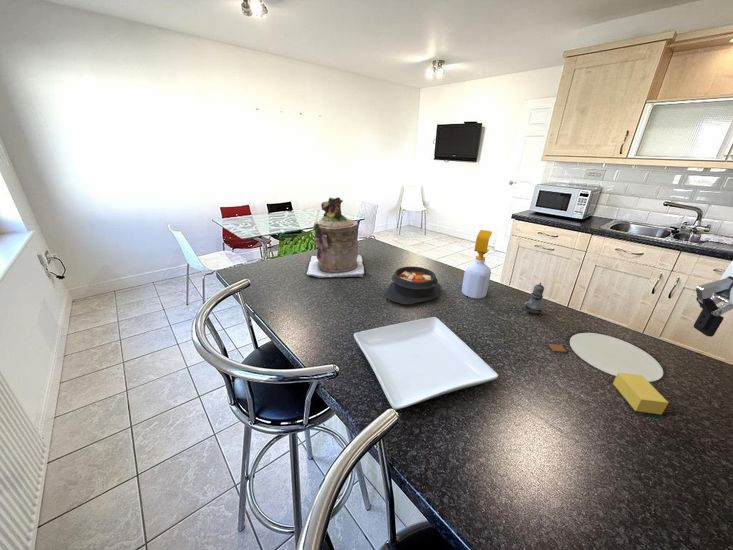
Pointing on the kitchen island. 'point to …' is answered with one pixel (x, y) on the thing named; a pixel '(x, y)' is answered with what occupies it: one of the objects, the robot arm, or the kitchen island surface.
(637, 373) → the plate
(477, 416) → the kitchen island surface
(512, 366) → the kitchen island surface
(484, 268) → the soap bottle
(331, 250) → the cookie jar
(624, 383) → the sponge
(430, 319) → the square plate
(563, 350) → the block
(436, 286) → the casserole
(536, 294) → the grey chess piece
